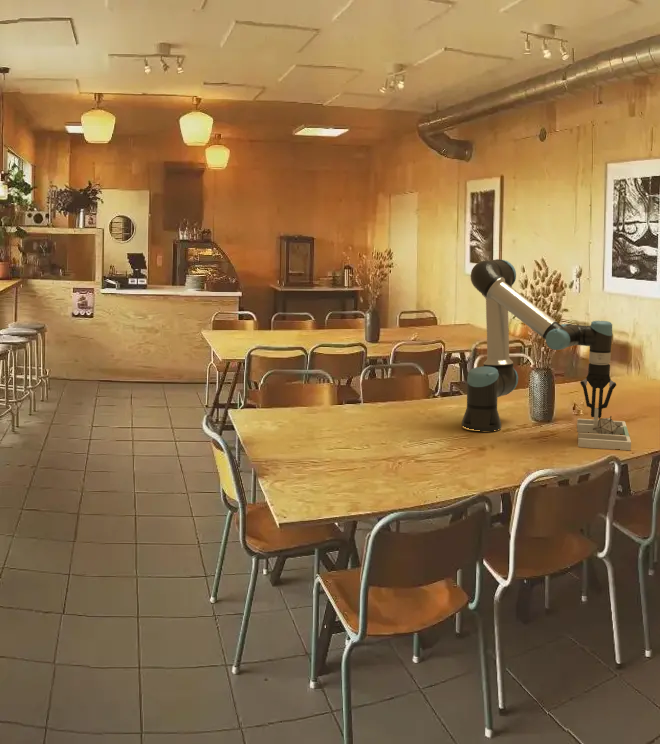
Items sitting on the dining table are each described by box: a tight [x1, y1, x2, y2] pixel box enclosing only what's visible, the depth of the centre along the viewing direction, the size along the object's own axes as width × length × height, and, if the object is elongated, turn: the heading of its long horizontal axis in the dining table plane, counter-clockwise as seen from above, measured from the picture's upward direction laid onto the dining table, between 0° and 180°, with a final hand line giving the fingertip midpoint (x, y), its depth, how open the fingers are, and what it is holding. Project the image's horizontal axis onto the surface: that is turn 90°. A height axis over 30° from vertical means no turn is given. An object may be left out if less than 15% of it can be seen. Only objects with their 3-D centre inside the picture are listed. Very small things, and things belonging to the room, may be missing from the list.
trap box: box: [576, 418, 632, 451], centre depth 304 cm, size 18×32×3 cm, turn 164°
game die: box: [593, 415, 620, 435], centre depth 303 cm, size 9×8×10 cm
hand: (595, 425), depth 304 cm, fingers closed
